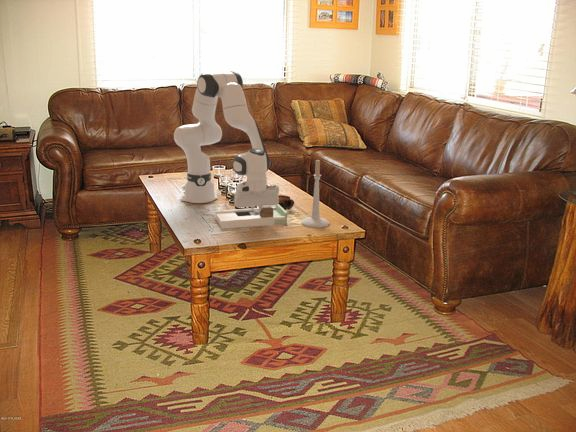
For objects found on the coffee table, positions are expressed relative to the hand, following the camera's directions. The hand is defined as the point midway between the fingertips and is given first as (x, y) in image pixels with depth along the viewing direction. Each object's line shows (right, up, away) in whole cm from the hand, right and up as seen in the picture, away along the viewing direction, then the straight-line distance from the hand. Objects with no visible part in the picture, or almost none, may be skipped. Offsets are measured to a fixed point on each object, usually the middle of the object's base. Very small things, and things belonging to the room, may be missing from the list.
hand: (256, 215), depth 281 cm
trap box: (-3, -3, +4) cm, 6 cm away
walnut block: (+5, -1, +2) cm, 5 cm away
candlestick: (+27, -4, +3) cm, 27 cm away
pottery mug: (+12, +2, +23) cm, 26 cm away
